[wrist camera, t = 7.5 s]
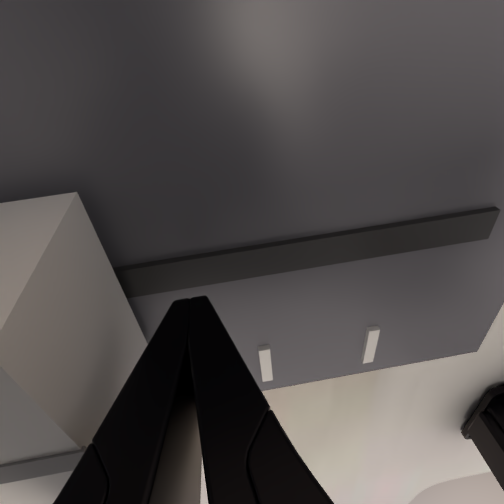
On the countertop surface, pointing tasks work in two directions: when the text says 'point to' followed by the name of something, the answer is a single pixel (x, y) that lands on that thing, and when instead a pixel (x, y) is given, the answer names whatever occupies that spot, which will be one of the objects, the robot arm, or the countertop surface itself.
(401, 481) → the countertop surface
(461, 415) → the countertop surface
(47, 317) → the fader
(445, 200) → the gray slotted panel
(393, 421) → the countertop surface
